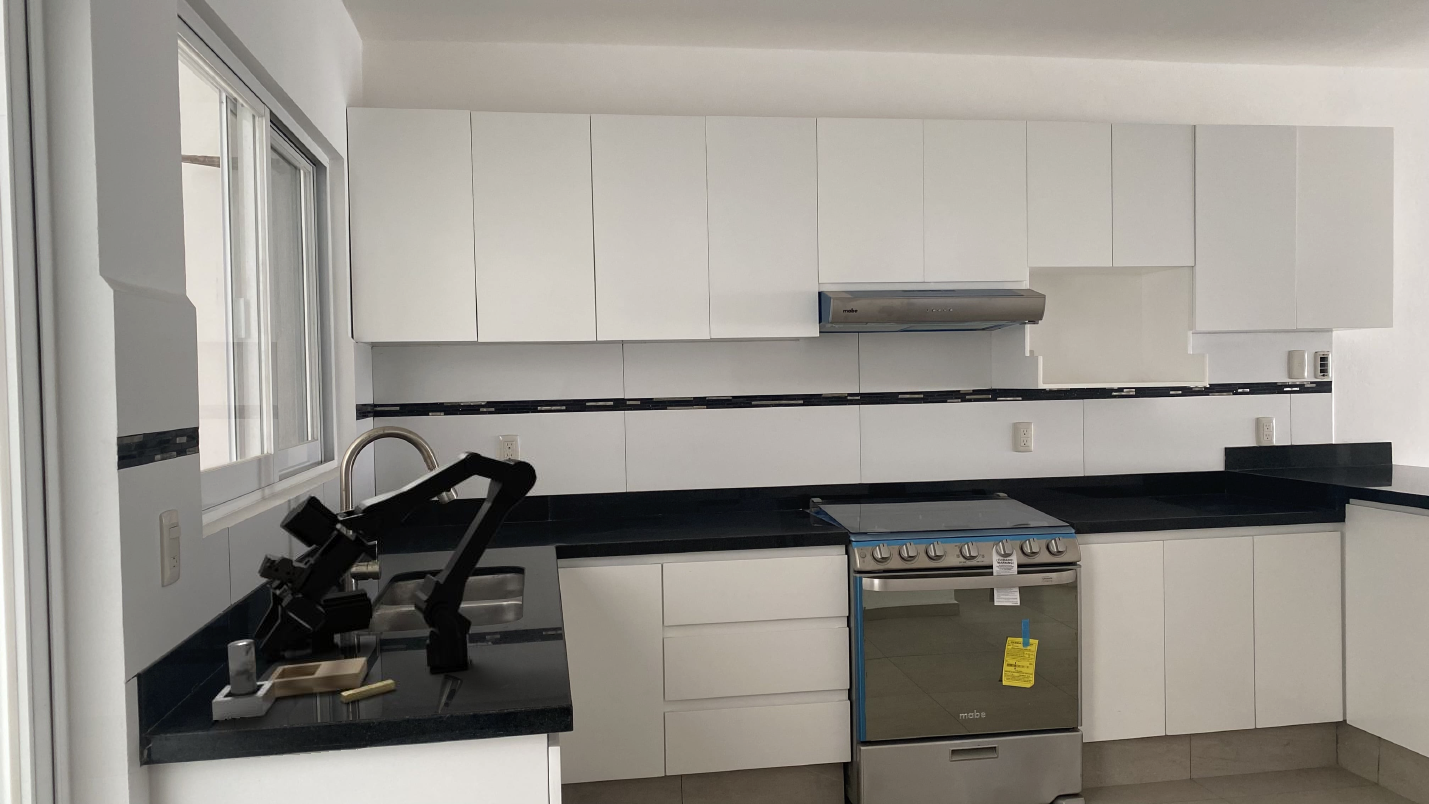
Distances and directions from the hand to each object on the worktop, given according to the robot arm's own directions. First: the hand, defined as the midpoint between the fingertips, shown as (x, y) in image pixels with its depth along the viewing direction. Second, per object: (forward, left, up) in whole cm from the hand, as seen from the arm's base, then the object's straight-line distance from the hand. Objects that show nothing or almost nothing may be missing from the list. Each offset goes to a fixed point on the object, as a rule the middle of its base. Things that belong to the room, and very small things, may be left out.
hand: (258, 645), depth 141 cm
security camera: (-3, -28, -10) cm, 29 cm away
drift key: (-16, 0, -10) cm, 19 cm away
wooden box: (-7, -8, -10) cm, 14 cm away
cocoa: (+2, -34, -10) cm, 35 cm away
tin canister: (+2, +1, -10) cm, 10 cm away
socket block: (+2, +1, -10) cm, 10 cm away
